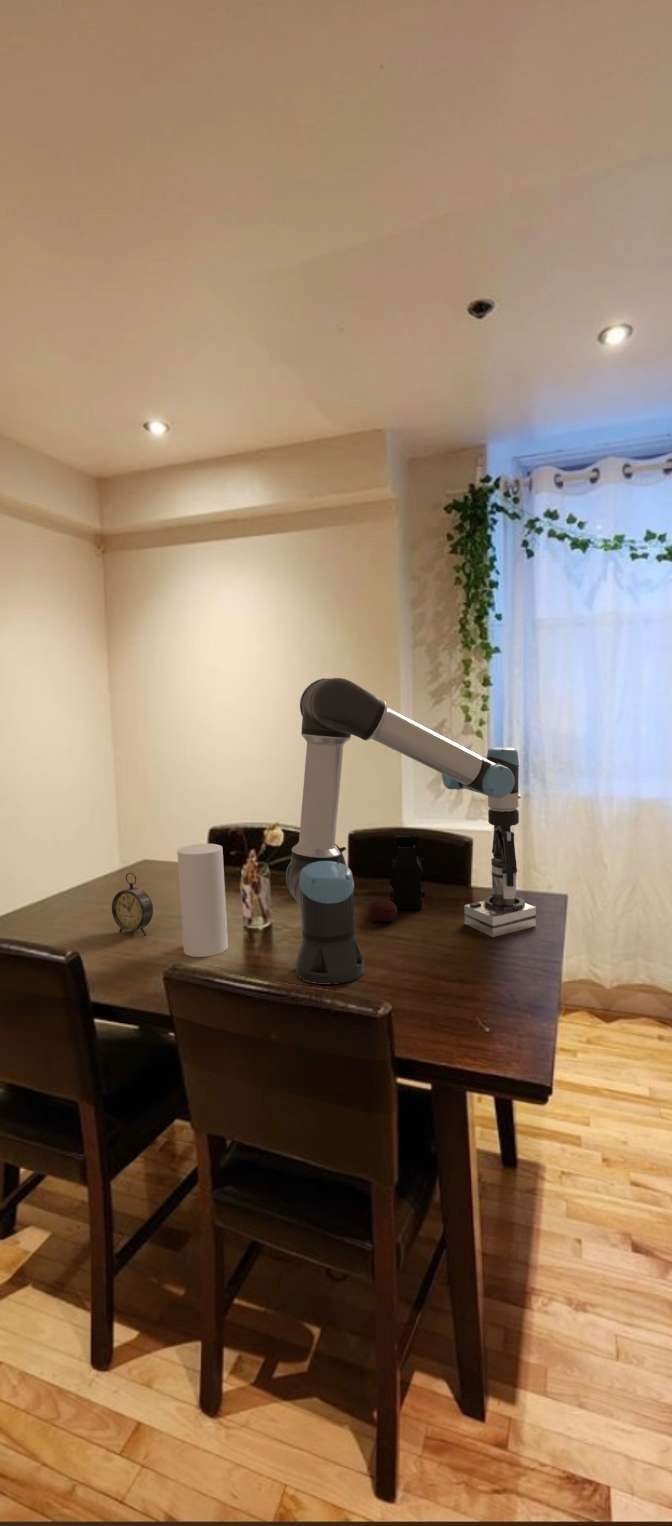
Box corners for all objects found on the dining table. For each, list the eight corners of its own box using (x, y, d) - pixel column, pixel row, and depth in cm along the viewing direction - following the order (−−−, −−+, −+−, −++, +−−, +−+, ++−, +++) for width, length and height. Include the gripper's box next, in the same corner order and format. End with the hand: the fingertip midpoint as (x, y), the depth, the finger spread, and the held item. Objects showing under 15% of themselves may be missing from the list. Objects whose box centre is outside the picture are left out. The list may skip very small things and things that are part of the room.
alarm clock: (112, 933, 178) (107, 873, 176) (126, 926, 183) (122, 868, 181) (144, 938, 173) (139, 877, 171) (158, 931, 178) (154, 871, 176)
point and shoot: (492, 937, 166) (492, 912, 165) (464, 923, 175) (464, 900, 175) (535, 926, 172) (535, 902, 171) (506, 913, 182) (506, 891, 181)
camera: (424, 895, 200) (422, 829, 198) (425, 910, 187) (424, 839, 184) (390, 895, 201) (388, 829, 199) (389, 910, 188) (387, 840, 186)
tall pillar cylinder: (180, 945, 168) (173, 846, 165) (222, 937, 172) (216, 841, 169) (188, 960, 158) (181, 856, 155) (232, 951, 162) (227, 850, 160)
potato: (376, 928, 174) (376, 906, 174) (362, 919, 182) (361, 897, 181) (401, 923, 177) (401, 901, 177) (386, 914, 185) (386, 893, 184)
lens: (519, 909, 170) (518, 862, 169) (494, 909, 171) (493, 863, 169) (513, 901, 177) (513, 856, 175) (489, 901, 177) (489, 856, 176)
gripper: (529, 817, 158) (530, 905, 161) (508, 799, 183) (509, 876, 185) (497, 818, 159) (498, 905, 161) (480, 800, 183) (481, 876, 186)
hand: (504, 890), depth 173 cm, fingers open, 13 cm apart
